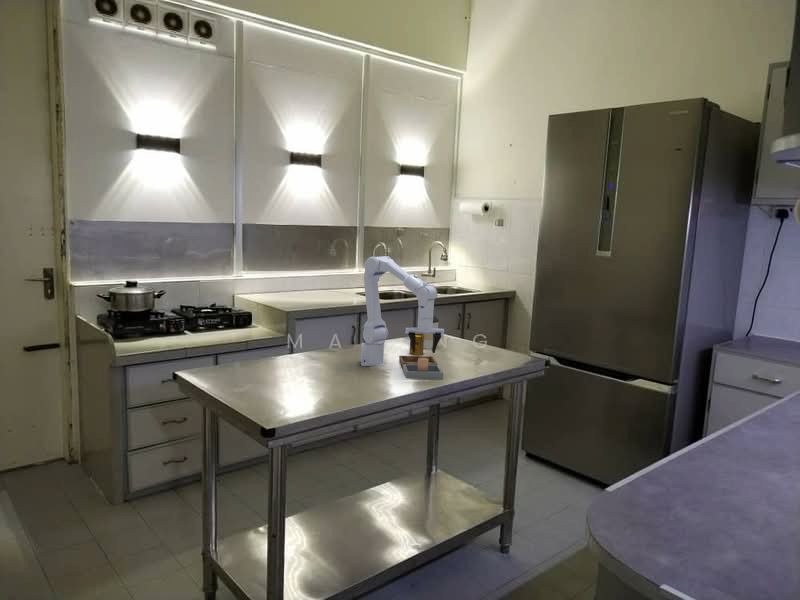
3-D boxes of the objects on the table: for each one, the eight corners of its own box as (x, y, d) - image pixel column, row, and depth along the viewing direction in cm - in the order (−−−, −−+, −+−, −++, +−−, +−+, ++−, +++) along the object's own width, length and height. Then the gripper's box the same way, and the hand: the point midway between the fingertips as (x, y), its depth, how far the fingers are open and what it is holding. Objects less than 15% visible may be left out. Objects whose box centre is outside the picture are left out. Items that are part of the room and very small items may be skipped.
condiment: (406, 355, 252) (407, 329, 250) (412, 351, 260) (413, 325, 258) (422, 358, 250) (423, 331, 248) (427, 354, 257) (429, 327, 256)
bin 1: (402, 370, 228) (402, 363, 228) (399, 362, 240) (399, 355, 239) (437, 371, 230) (437, 363, 229) (432, 363, 241) (432, 356, 241)
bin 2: (405, 379, 216) (406, 371, 215) (402, 371, 227) (403, 364, 226) (442, 380, 217) (443, 372, 217) (437, 372, 228) (438, 364, 228)
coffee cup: (437, 349, 266) (439, 317, 264) (418, 349, 266) (420, 317, 263) (436, 345, 275) (438, 314, 273) (417, 344, 275) (419, 313, 272)
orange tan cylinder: (417, 375, 220) (418, 360, 219) (416, 372, 224) (417, 357, 223) (428, 375, 220) (429, 360, 219) (426, 372, 224) (427, 357, 223)
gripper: (407, 318, 214) (405, 354, 216) (446, 319, 215) (444, 355, 217) (405, 315, 221) (403, 349, 223) (442, 316, 222) (440, 350, 224)
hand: (423, 352), depth 221 cm, fingers open, 7 cm apart
